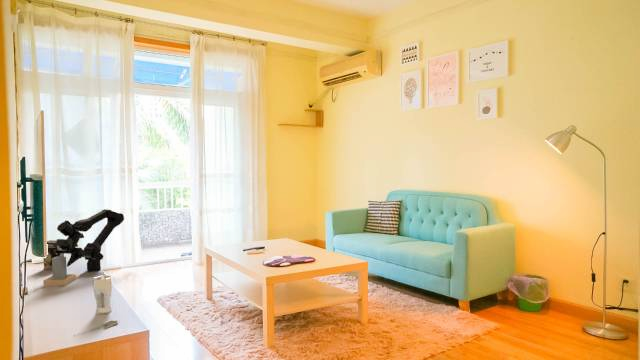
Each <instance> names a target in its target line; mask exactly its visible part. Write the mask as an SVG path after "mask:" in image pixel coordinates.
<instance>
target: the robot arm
mask: <svg viewBox="0 0 640 360" xmlns="http://www.w3.org/2000/svg"><path fill="white" fill-rule="evenodd" d="M104 219H107V220H106V222H107V223H106V224H105V226H104V227H103V229H102V230H101V231H100V233H99V234H98V235H97V236H96V238H95V239H94V240H93V242H88V243H87V244H86V245H85V246H84V247H83V248H82V247H79V244H78V243H79V241H80V239H84V238H85V236H84V234H83V232H84V233H85V232H89V230H90V229H91V228H92V227H93V226H94V225H95V224H97V223H99V222H101V221H102V220H104ZM124 220H125V217H124V214H123V213H121V212H120V213H119V212H115V211H113V210H111V209H108V208H107V209H105V208H104V209H102V210H101V211H98V212H97V213H95V214H94V215H91V216H89V217H87V218H84V219H80V220H77V221H74V223H72V222H70V221H69V220H64V221H63V222H61V223H60V224H58V226H57V229H56V230H57V231H58V232H60V234H61V235H63V236H65V237H67V238H66V239H64V238H57V239H56V240H55V241H56V245H58V246H60V248H61V250H59V249H58V248H57V247H49V248H48V253H49V254H50V255H51V263H50V266H52V258H54V257H57V256H60V254H61V253H62V254H64V255H65V254H67V255H70V257H69V259H68V261H67V262H66V268H68V267H70V266H71V265H73V264H74V263H76V262H77V261H79V259H80V260H81V259H82V258H84V260H86V261H87V262H86V270H87V272H96V271H97V272H98V271H101V269H102V267H101V266H102V265H101V260H104V255H103V254H102V253H101V251H102V246H103V245H104V243H105V241H106V240H107V239H108V237H109V236H110V234H111V233H112V232H113V231H114V229H115V228H116V227H118V226H120V225H121V224H122V223H123V222H124ZM81 232H82V233H81Z"/></svg>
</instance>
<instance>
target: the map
mask: <svg viewBox="0 0 640 360" xmlns="http://www.w3.org/2000/svg"><path fill="white" fill-rule="evenodd" d="M116 324H118V320H109V321H107V322H105V323H103V324H101V325H100V326H101V327H103V329H102V330H106V329H108V328H111V327H113V326H116ZM73 336H74V337H75V334H73Z"/></svg>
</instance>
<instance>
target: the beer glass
mask: <svg viewBox="0 0 640 360" xmlns="http://www.w3.org/2000/svg"><path fill="white" fill-rule="evenodd" d="M111 277H112V276H111V275H99V276H96V277H94V278H93V293H94V299H95V303H96V309H95V314H97V315H106V314H108V313H111V311H112V306H111V298H112V297H111V296H112V290H113V289H112V288H113V286H112V278H111Z"/></svg>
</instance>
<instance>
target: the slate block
mask: <svg viewBox="0 0 640 360" xmlns="http://www.w3.org/2000/svg"><path fill="white" fill-rule="evenodd" d="M67 268H68V267H67V256H64V257H58V256H57V257H54V258H52V270H51V271H52V276H53V280H65V279H67V274H68V272H67Z"/></svg>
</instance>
